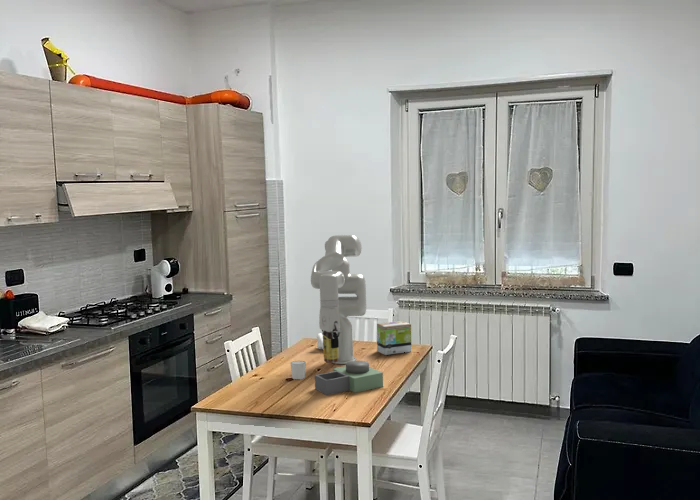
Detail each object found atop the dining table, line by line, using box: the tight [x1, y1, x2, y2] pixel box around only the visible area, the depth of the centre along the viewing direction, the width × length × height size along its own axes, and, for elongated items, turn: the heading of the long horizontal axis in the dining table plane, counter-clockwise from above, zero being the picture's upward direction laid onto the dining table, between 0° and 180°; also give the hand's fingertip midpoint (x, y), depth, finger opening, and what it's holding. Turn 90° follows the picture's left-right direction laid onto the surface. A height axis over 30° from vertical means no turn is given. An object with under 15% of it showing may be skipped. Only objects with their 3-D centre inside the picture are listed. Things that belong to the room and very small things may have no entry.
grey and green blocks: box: [314, 360, 384, 396], centre depth 273 cm, size 18×25×9 cm
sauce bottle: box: [322, 330, 339, 364], centre depth 267 cm, size 6×6×20 cm
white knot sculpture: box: [316, 332, 323, 350], centre depth 337 cm, size 11×12×9 cm
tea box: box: [376, 320, 412, 356], centre depth 328 cm, size 15×10×15 cm
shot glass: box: [289, 360, 307, 380], centre depth 288 cm, size 7×7×7 cm
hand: (330, 345), depth 268 cm, fingers closed on sauce bottle, 6 cm apart
